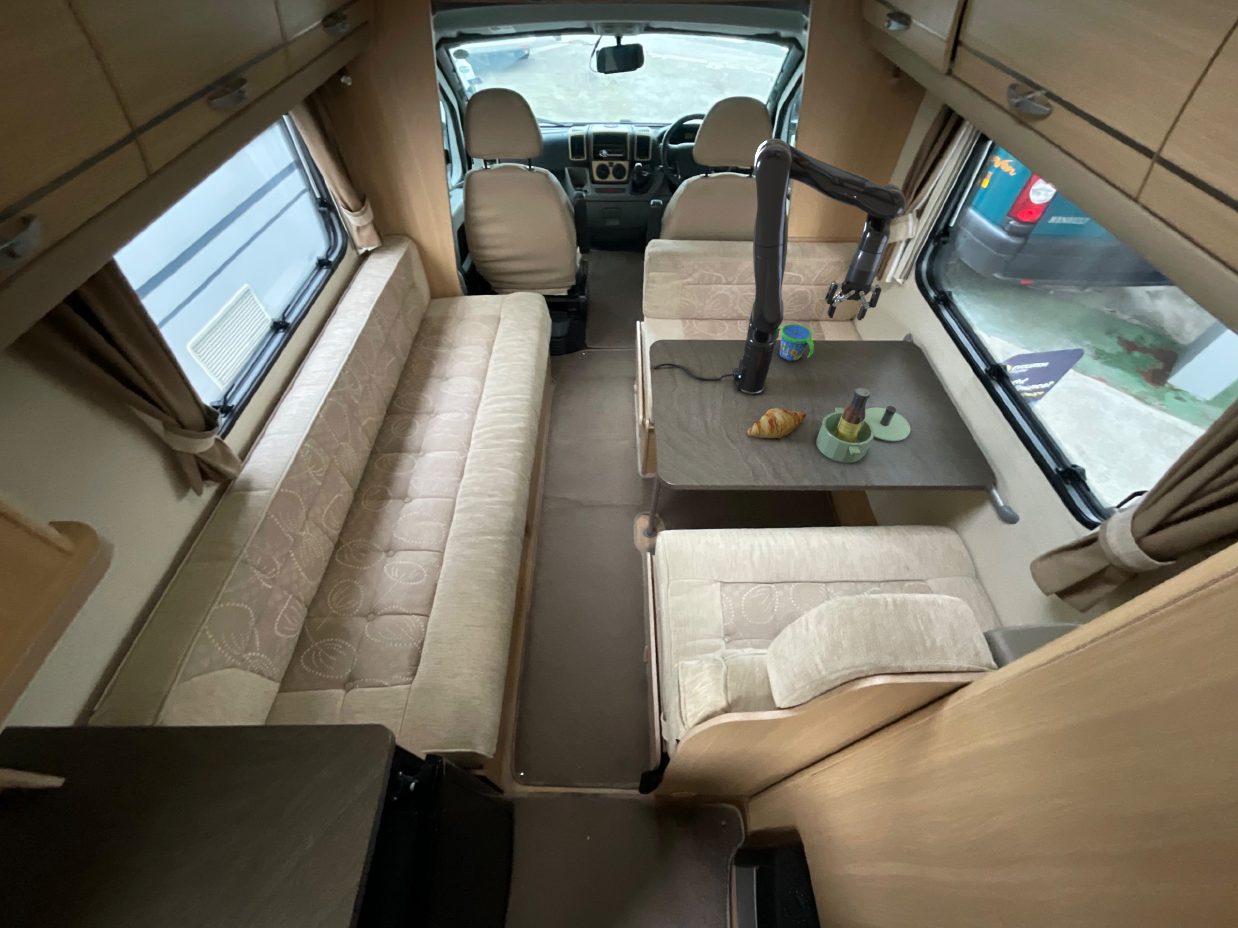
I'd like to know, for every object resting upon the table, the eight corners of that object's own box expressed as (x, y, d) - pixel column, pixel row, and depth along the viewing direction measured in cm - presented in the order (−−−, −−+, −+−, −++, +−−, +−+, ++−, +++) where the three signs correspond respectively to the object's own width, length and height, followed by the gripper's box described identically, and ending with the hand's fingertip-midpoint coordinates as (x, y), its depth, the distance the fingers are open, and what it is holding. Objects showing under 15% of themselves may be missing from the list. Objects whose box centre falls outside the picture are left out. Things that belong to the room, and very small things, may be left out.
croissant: (750, 451, 173) (761, 442, 165) (736, 422, 175) (747, 412, 167) (805, 431, 179) (818, 422, 171) (791, 404, 181) (804, 393, 174)
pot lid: (865, 441, 172) (873, 424, 167) (852, 409, 183) (859, 392, 178) (916, 443, 172) (925, 426, 167) (899, 410, 183) (908, 393, 178)
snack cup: (816, 361, 201) (824, 337, 194) (796, 371, 197) (803, 347, 189) (784, 341, 210) (790, 317, 203) (764, 350, 205) (770, 326, 198)
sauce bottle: (855, 451, 168) (878, 400, 154) (834, 451, 168) (855, 399, 154) (849, 437, 172) (871, 385, 158) (829, 436, 172) (849, 385, 158)
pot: (824, 468, 163) (831, 450, 158) (809, 423, 177) (816, 405, 172) (873, 470, 163) (883, 452, 158) (855, 424, 177) (863, 406, 172)
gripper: (885, 261, 156) (864, 314, 167) (835, 257, 156) (817, 310, 167) (894, 272, 151) (871, 326, 162) (842, 268, 151) (823, 322, 162)
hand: (844, 318), depth 164 cm, fingers open, 8 cm apart
